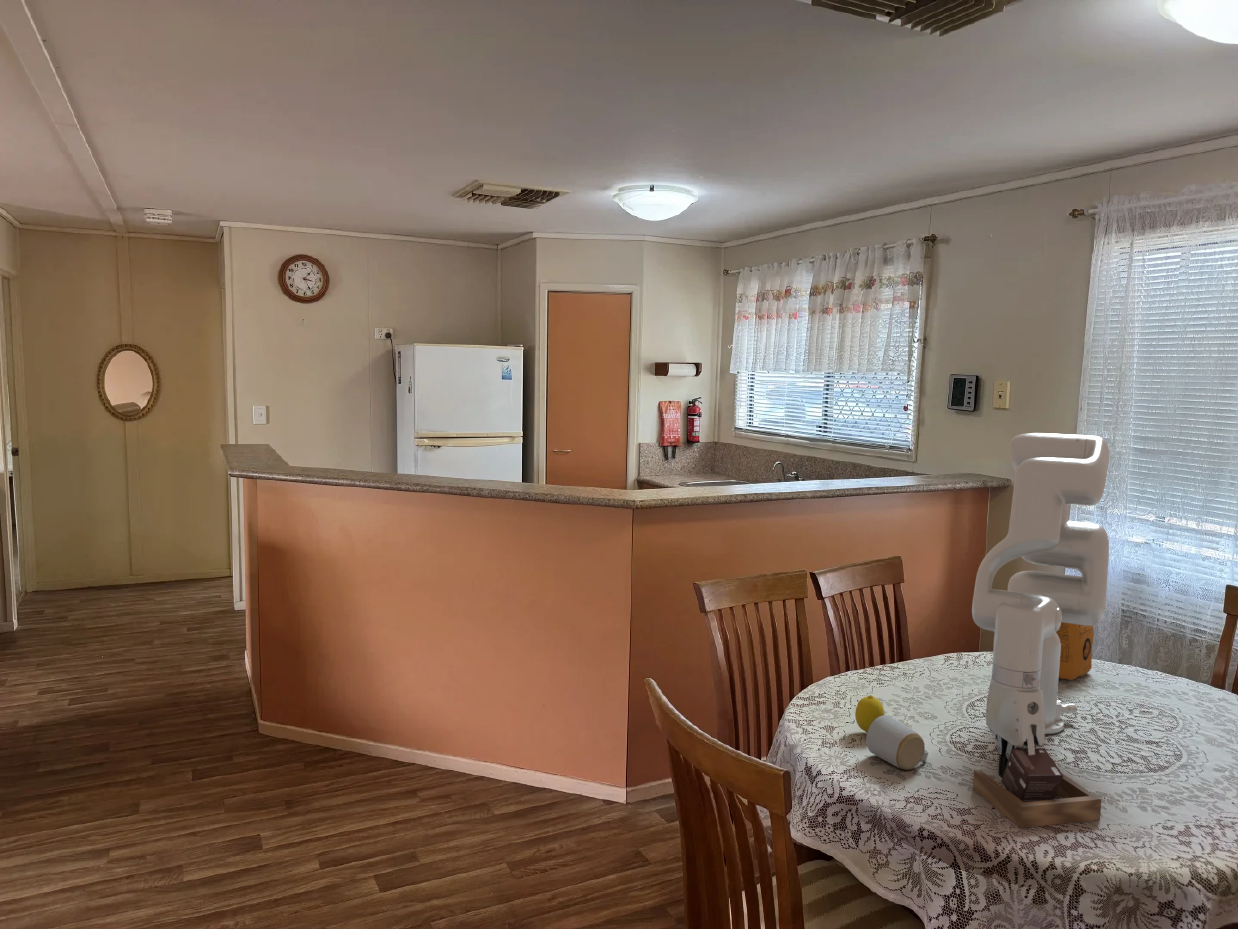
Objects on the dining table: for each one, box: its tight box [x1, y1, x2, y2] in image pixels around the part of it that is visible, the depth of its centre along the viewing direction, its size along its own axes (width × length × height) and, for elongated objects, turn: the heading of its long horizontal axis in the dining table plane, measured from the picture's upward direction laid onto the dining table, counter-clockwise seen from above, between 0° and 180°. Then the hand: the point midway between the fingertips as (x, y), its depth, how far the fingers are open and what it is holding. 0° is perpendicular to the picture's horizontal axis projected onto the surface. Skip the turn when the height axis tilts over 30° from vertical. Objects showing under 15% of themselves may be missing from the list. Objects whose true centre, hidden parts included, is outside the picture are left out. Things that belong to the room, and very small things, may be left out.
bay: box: [972, 769, 1102, 829], centre depth 138 cm, size 14×12×4 cm
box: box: [1001, 747, 1064, 802], centre depth 139 cm, size 6×6×7 cm
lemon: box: [854, 694, 885, 734], centre depth 165 cm, size 6×6×8 cm
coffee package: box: [1056, 622, 1095, 681], centre depth 200 cm, size 10×12×22 cm
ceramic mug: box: [865, 714, 929, 771], centre depth 154 cm, size 11×8×8 cm
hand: (1009, 777), depth 144 cm, fingers closed
